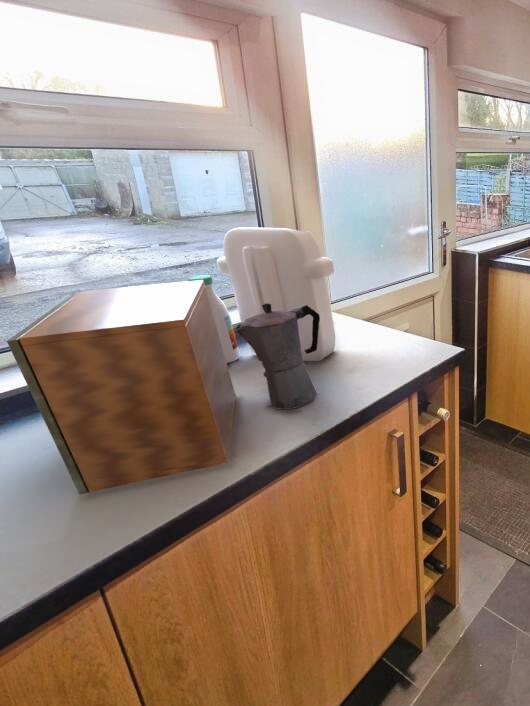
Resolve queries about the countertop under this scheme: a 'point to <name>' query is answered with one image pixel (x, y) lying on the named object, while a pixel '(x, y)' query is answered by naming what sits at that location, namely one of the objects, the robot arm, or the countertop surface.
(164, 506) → the countertop surface
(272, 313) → the moka pot
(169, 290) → the cupboard
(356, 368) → the countertop surface
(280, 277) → the toaster
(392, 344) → the countertop surface
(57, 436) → the cupboard door
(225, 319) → the milk bottle
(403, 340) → the countertop surface
